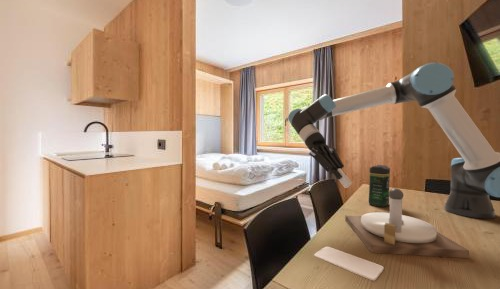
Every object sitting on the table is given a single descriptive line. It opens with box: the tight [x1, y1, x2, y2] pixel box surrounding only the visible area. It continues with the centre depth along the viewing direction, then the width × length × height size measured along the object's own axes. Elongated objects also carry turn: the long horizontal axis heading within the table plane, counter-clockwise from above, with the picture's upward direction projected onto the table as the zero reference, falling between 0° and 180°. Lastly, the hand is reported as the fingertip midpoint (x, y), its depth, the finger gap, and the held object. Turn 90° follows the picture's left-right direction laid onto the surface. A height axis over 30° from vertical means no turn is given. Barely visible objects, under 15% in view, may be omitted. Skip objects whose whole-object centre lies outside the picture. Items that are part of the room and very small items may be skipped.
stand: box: [344, 215, 470, 259], centre depth 72 cm, size 24×24×7 cm
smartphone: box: [314, 246, 384, 281], centre depth 57 cm, size 7×1×15 cm
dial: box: [360, 187, 438, 243], centre depth 72 cm, size 20×20×14 cm
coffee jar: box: [368, 164, 391, 208], centre depth 107 cm, size 10×8×19 cm
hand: (348, 185), depth 79 cm, fingers closed
